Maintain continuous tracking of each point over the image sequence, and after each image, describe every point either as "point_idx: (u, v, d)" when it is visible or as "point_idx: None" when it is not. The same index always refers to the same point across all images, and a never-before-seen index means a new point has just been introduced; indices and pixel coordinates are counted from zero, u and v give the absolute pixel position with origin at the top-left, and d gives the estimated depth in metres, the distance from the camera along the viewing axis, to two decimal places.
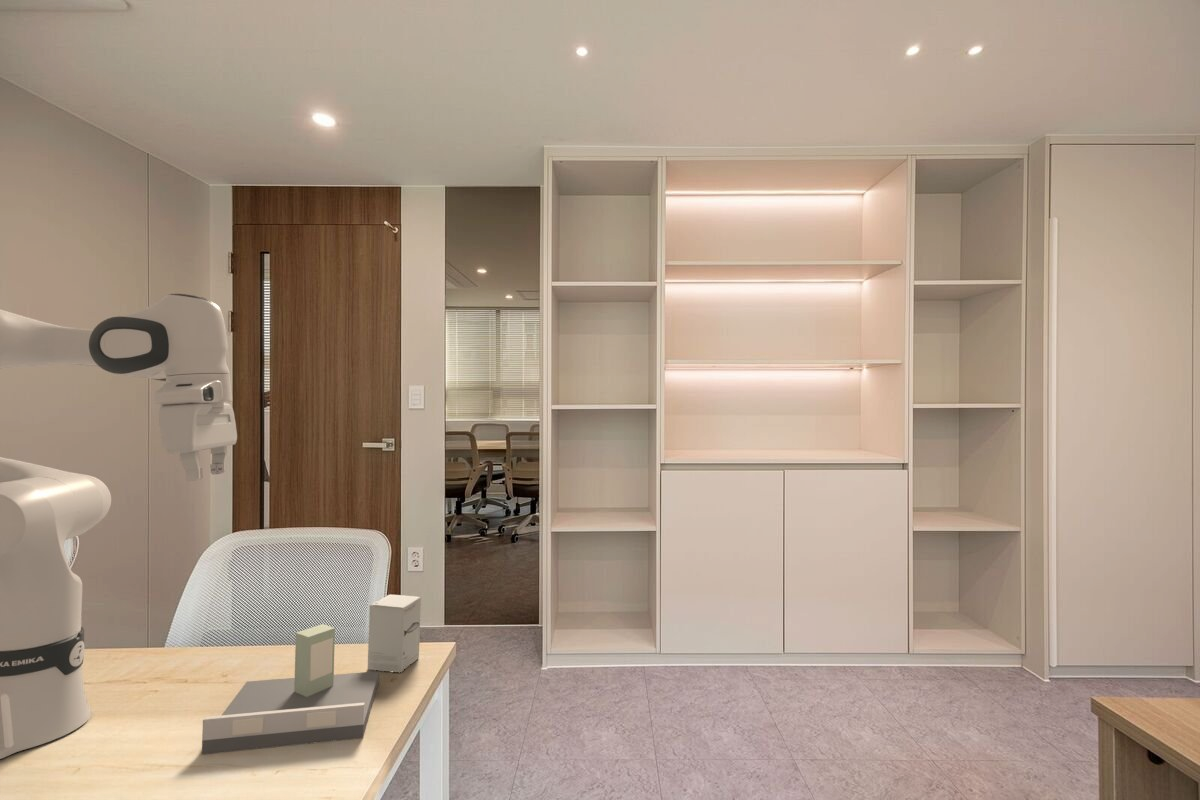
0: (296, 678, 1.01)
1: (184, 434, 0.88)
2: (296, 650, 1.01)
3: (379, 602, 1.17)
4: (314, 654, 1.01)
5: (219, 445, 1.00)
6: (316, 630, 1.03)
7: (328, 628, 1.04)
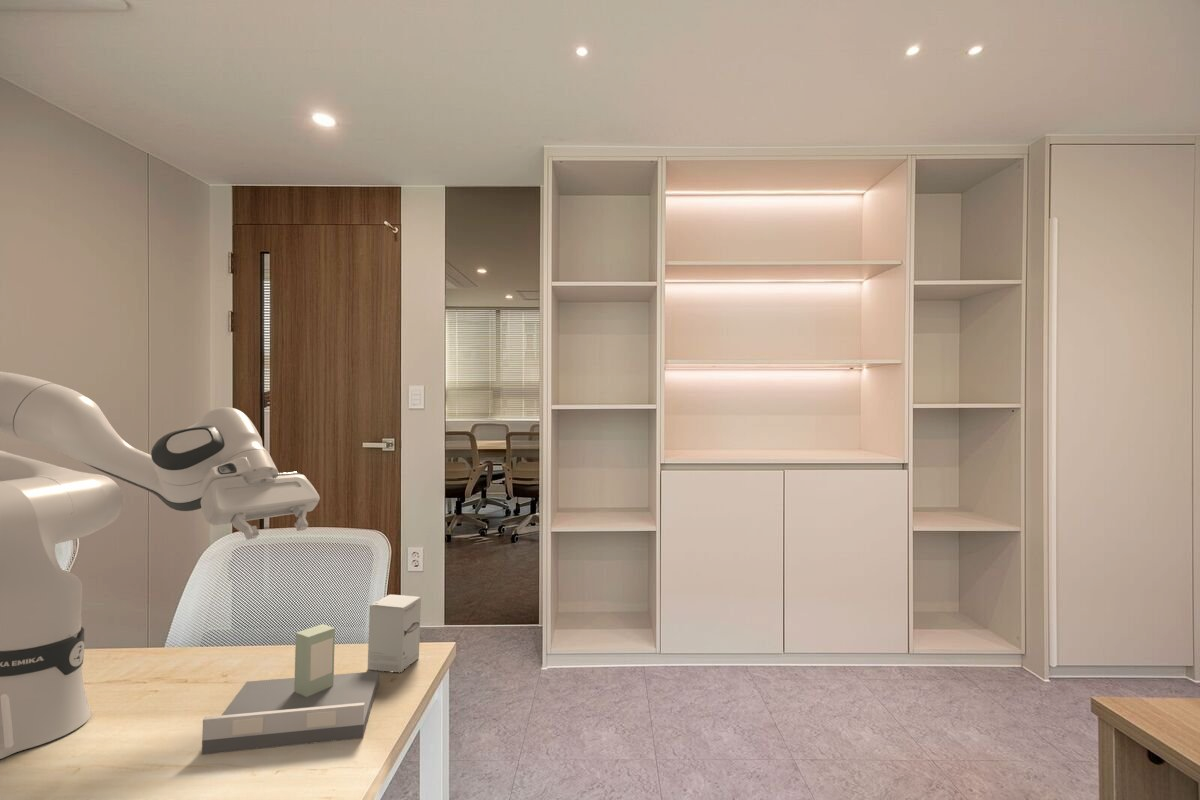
0: (296, 678, 1.01)
1: (210, 504, 1.04)
2: (296, 650, 1.01)
3: (379, 602, 1.17)
4: (314, 654, 1.01)
5: (280, 504, 1.12)
6: (316, 630, 1.03)
7: (328, 628, 1.04)
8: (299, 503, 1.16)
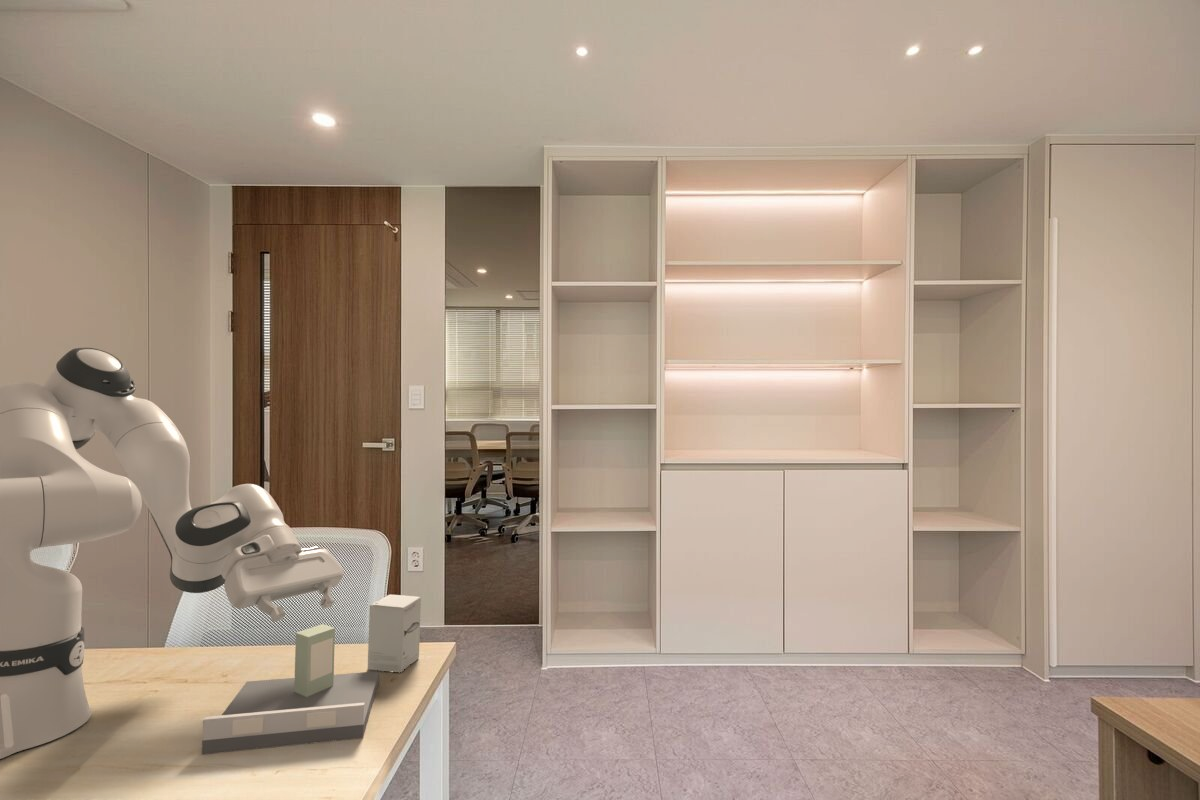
0: (296, 678, 1.01)
1: (234, 587, 1.01)
2: (296, 650, 1.01)
3: (379, 602, 1.17)
4: (314, 654, 1.01)
5: (304, 582, 1.09)
6: (316, 630, 1.03)
7: (328, 628, 1.04)
8: (324, 579, 1.13)
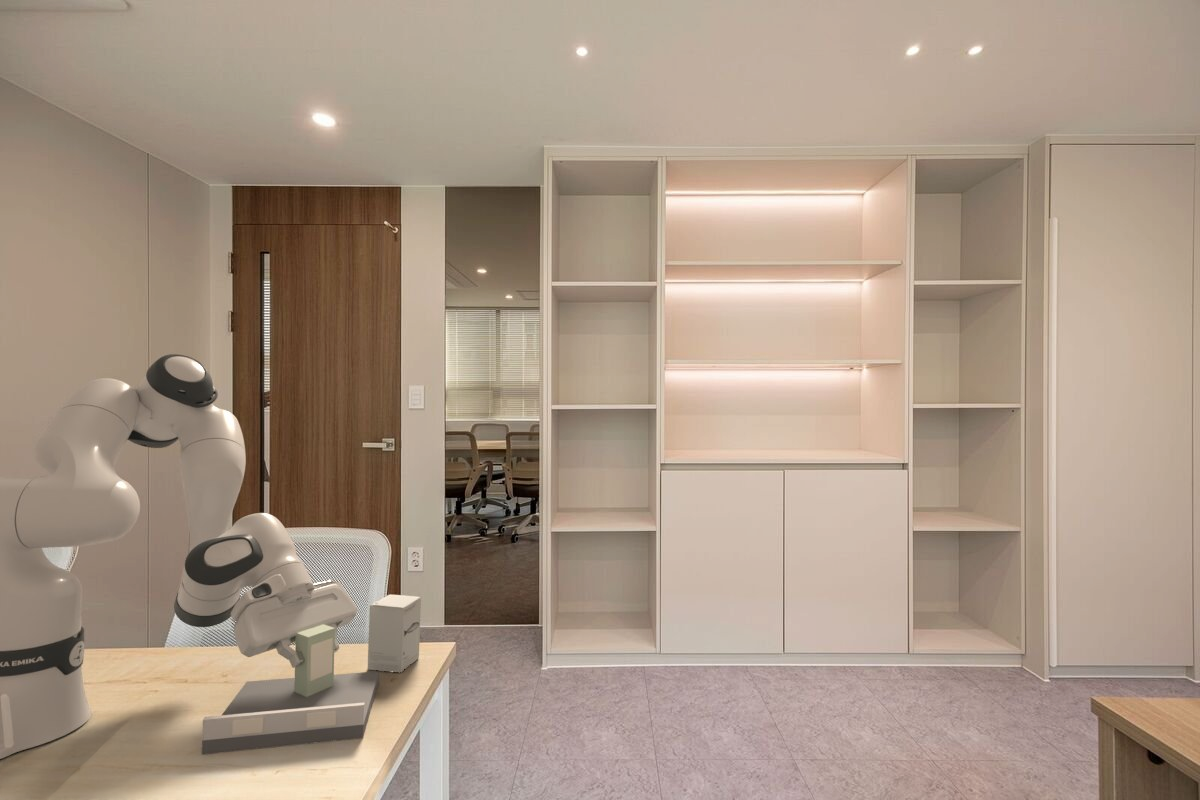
0: (296, 678, 1.01)
1: (244, 635, 0.96)
2: (296, 650, 1.01)
3: (379, 602, 1.17)
4: (314, 654, 1.01)
5: (317, 625, 1.05)
6: (316, 630, 1.03)
7: (328, 628, 1.04)
8: (336, 620, 1.08)
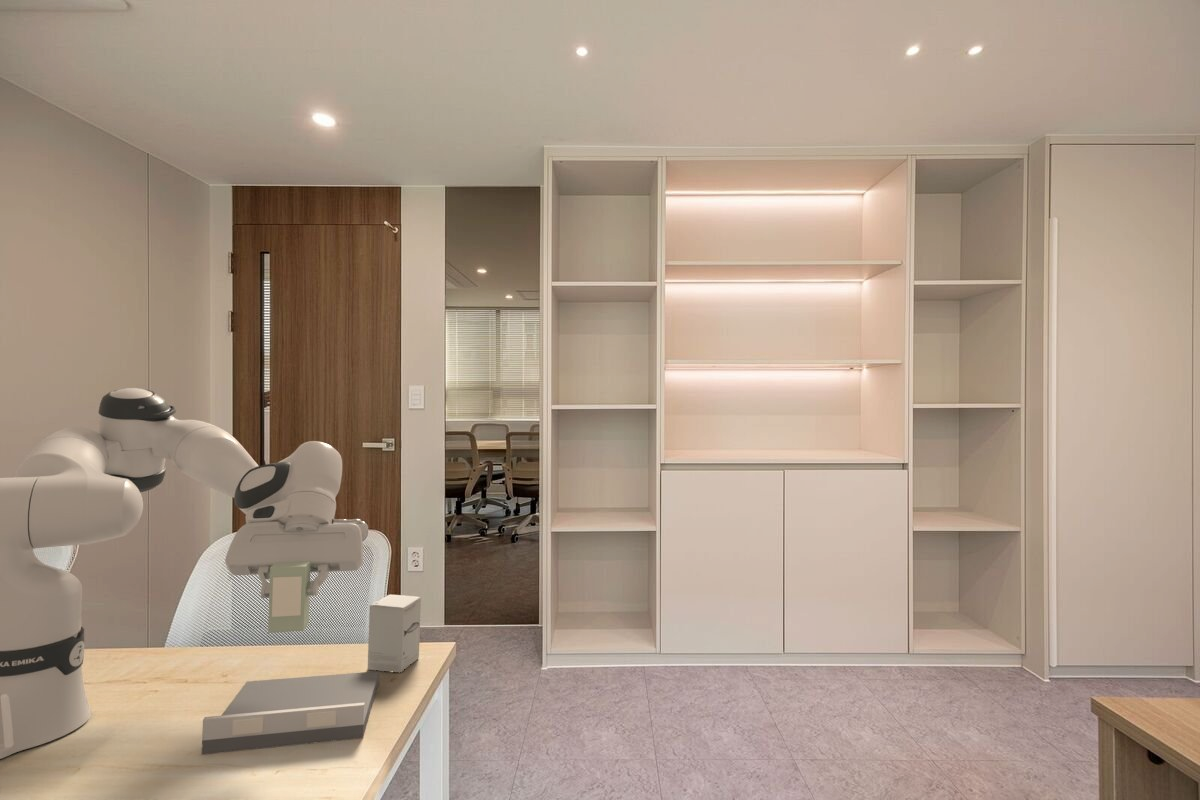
0: None
1: None
2: None
3: (379, 602, 1.17)
4: (276, 588, 0.91)
5: (303, 560, 0.96)
6: (291, 564, 0.93)
7: (300, 565, 0.93)
8: (328, 561, 0.96)
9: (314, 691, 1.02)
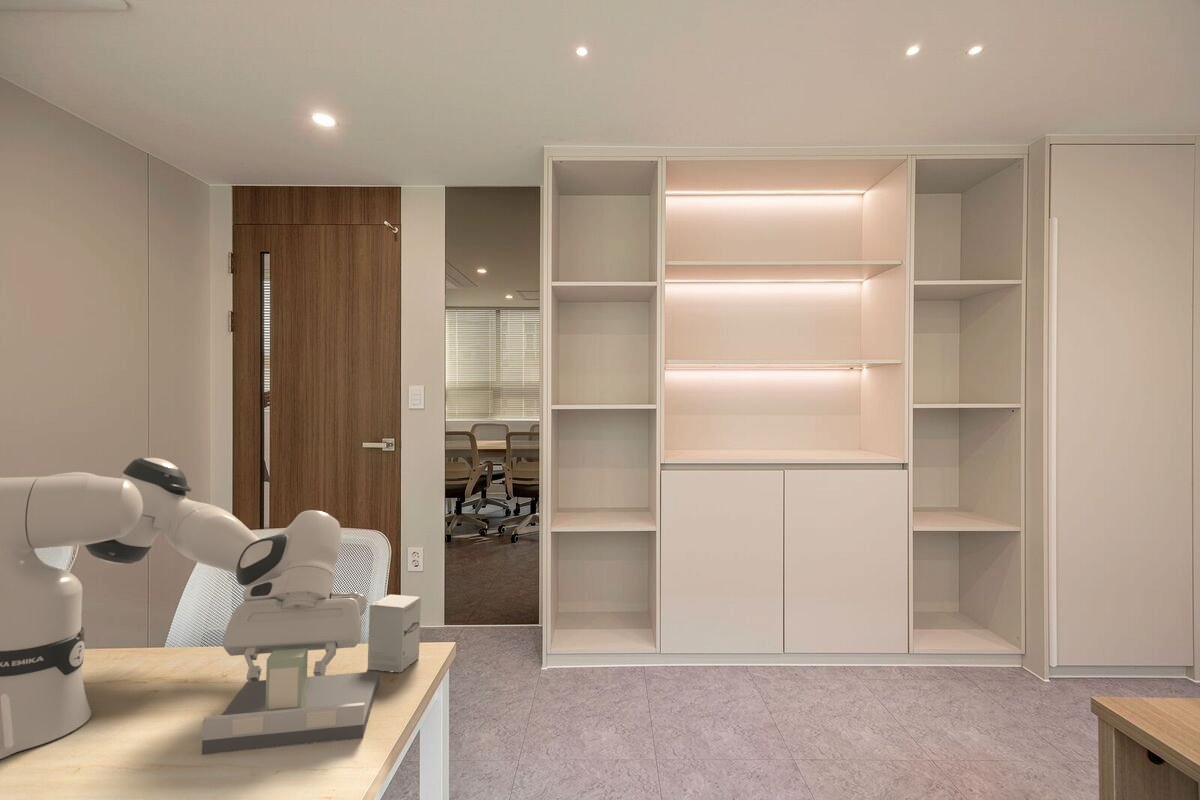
0: None
1: None
2: None
3: (379, 602, 1.17)
4: (273, 680, 0.91)
5: (300, 640, 0.95)
6: (287, 654, 0.93)
7: (297, 655, 0.92)
8: (326, 640, 0.96)
9: (314, 691, 1.02)
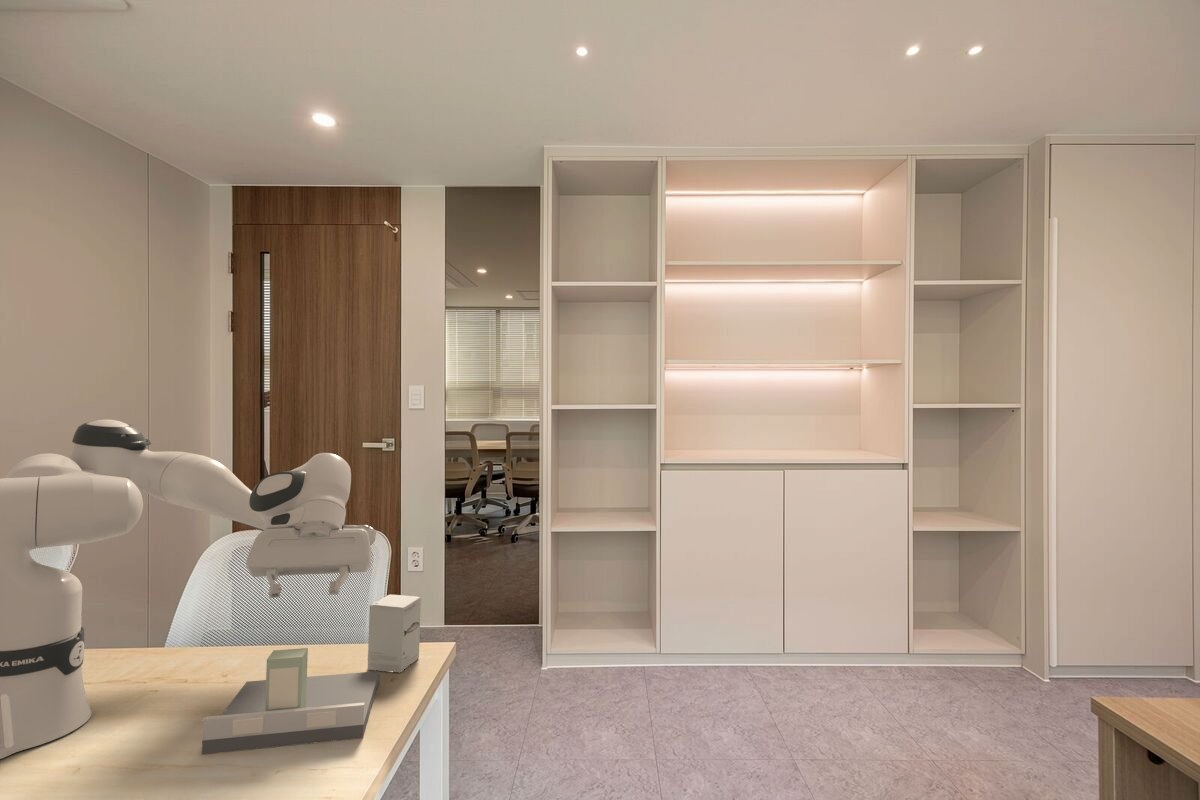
0: None
1: None
2: None
3: (379, 602, 1.17)
4: (273, 680, 0.91)
5: (316, 563, 1.05)
6: (287, 654, 0.93)
7: (297, 655, 0.92)
8: (339, 563, 1.06)
9: (314, 691, 1.02)
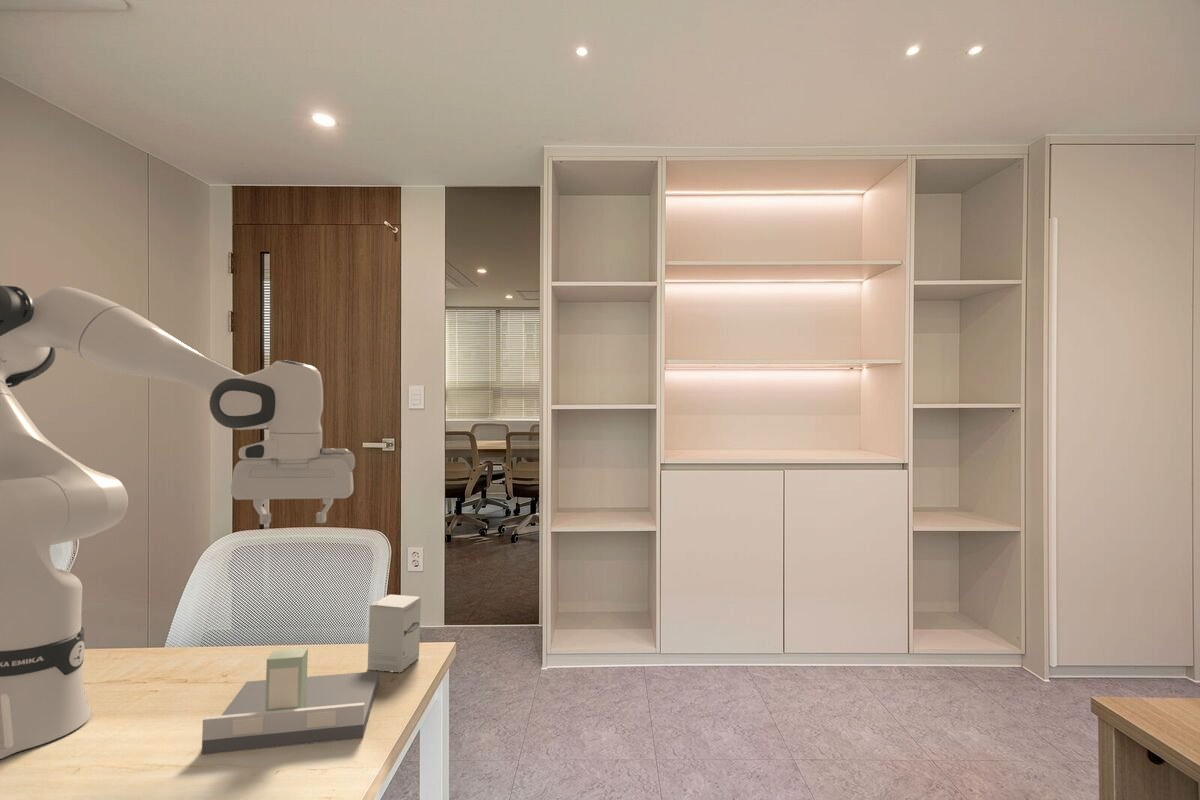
0: None
1: None
2: None
3: (379, 602, 1.17)
4: (273, 680, 0.91)
5: (299, 497, 1.09)
6: (287, 654, 0.93)
7: (297, 655, 0.92)
8: (322, 497, 1.10)
9: (314, 691, 1.02)
